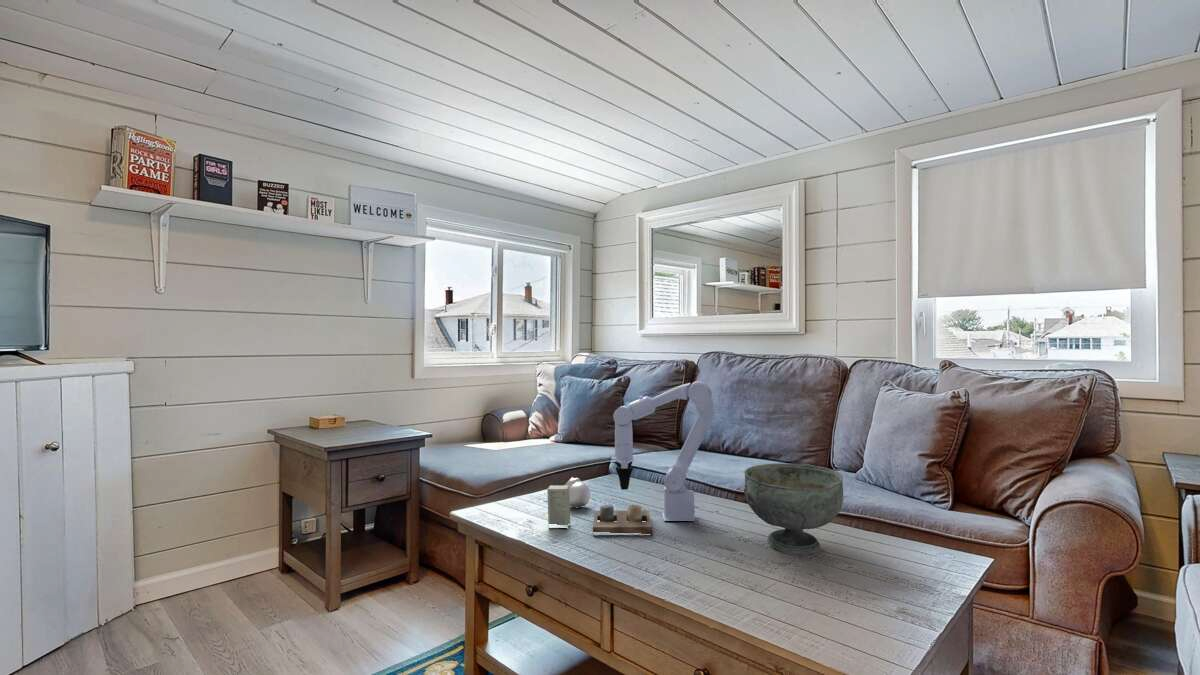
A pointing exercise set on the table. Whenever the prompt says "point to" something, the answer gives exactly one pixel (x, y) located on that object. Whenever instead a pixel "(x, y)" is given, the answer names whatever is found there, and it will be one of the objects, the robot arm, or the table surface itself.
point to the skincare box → (558, 504)
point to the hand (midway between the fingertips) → (624, 486)
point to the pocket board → (620, 521)
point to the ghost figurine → (578, 492)
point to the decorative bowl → (794, 502)
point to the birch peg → (634, 513)
